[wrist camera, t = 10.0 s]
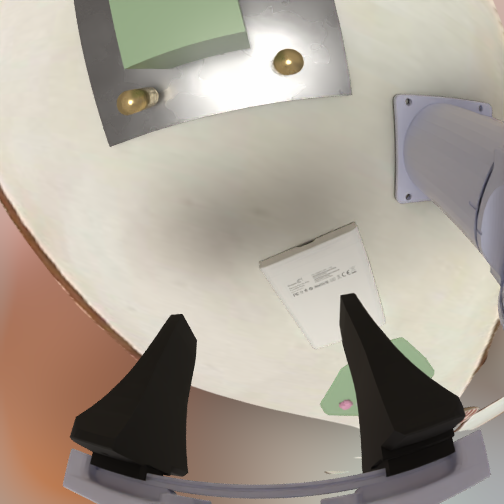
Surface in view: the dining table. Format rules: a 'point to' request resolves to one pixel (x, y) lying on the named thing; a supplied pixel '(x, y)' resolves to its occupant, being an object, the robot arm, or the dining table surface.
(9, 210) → the dining table surface
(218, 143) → the dining table surface
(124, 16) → the board block
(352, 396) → the plant
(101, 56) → the chassis
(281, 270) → the external hard drive
